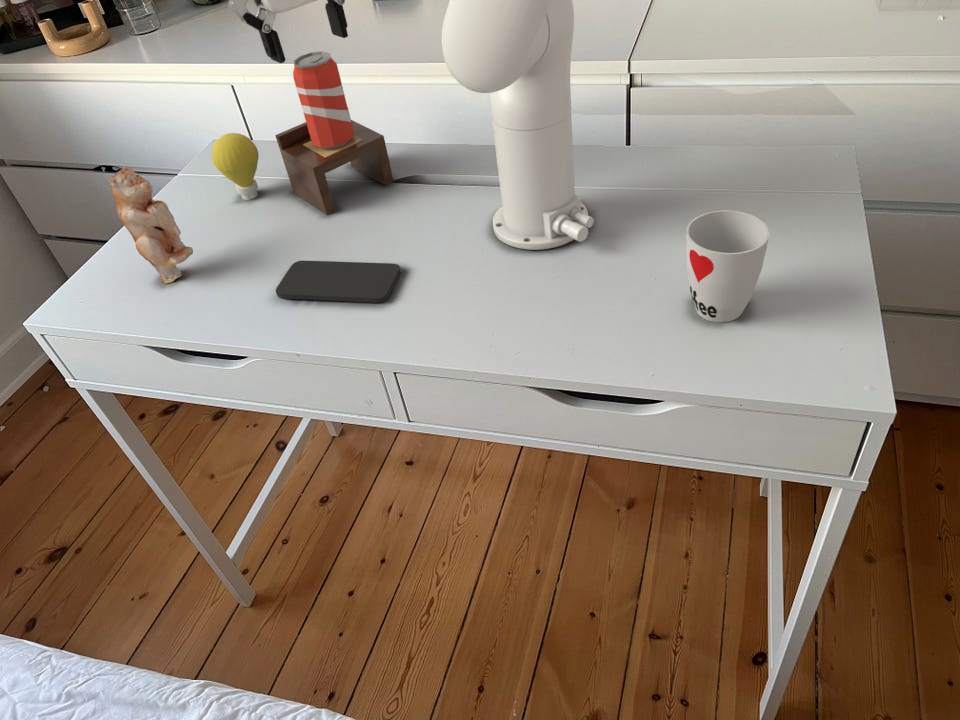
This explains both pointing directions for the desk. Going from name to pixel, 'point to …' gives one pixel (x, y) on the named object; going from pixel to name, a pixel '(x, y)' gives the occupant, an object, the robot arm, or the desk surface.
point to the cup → (724, 262)
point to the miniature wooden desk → (331, 161)
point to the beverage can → (322, 100)
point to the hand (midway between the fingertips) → (310, 48)
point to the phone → (339, 281)
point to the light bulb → (237, 162)
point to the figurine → (149, 223)
